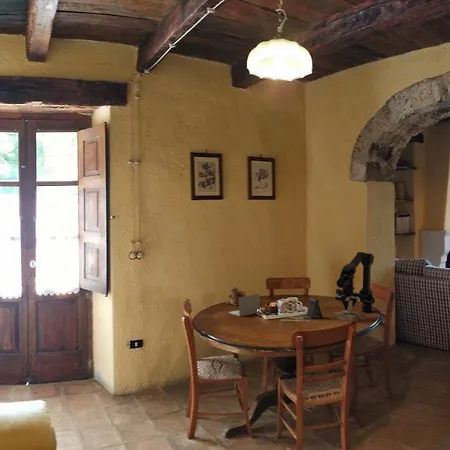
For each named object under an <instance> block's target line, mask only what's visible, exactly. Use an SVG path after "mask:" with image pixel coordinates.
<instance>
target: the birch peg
mask: <svg viewBox="0 0 450 450" xmlns="http://www.w3.org/2000/svg"><path fill="white" fill-rule="evenodd" d="M348 300H349V303H348V309H347V311H346V310H345V309H344V311H345V314H346V315H352V312H353V309H352V300H350V299H348Z"/></svg>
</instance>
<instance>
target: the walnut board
mask: <svg viewBox="0 0 450 450" xmlns="http://www.w3.org/2000/svg"><path fill="white" fill-rule="evenodd" d="M332 314H333V315H332V317H333V318H335V319H339V320H342V321H346V322H349V323H354V322H359V321H364V319H365V320H366V314H365V313H364V314H363V313H359V312H356V311H352V315H346V314H345V310H340V311H335V312H332Z"/></svg>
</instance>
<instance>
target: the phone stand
mask: <svg viewBox="0 0 450 450" xmlns="http://www.w3.org/2000/svg"><path fill="white" fill-rule="evenodd" d="M319 301H320V300H319V299H315V298H309V304H308V308H307V312H306V315H307V316H308V317H309V318H308V319H309V320H310V319H311V320H315V319H322V318H323V313H322V311H321V308H320V305H319V304H320V302H319Z"/></svg>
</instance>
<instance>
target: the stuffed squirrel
mask: <svg viewBox="0 0 450 450" xmlns="http://www.w3.org/2000/svg"><path fill="white" fill-rule="evenodd" d="M228 293H229V294H228V295H227V298H228V299H230V300H229V301H226V302H225V303H226V305H233V306H239V297H244V296H247V292H246V291H245V290H243V289H242V290H240V288H239V287H237V286H232V287H231V288H230V290H229V292H228ZM230 293H231V294H230Z"/></svg>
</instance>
